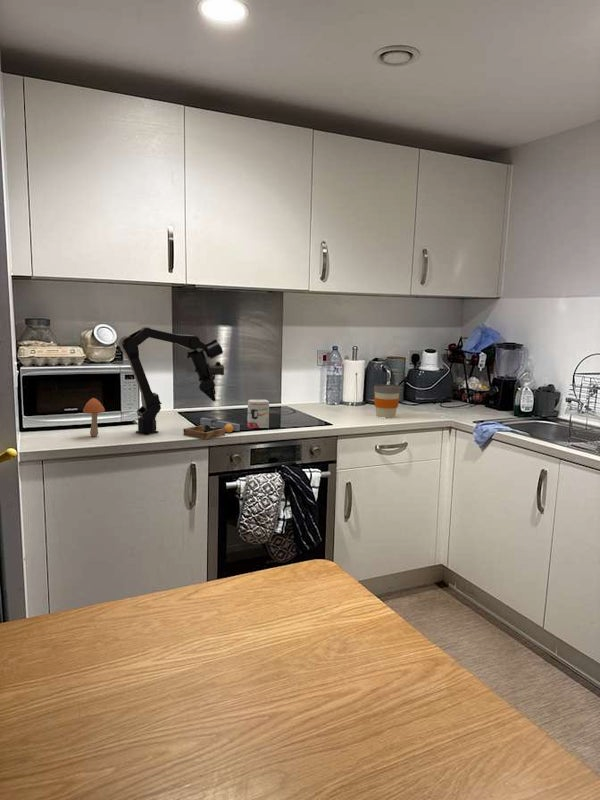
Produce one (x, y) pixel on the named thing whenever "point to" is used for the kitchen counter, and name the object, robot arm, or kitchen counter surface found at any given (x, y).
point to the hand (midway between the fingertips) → (214, 397)
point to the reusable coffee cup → (386, 400)
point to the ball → (228, 428)
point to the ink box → (258, 414)
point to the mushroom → (93, 414)
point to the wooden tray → (199, 433)
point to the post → (213, 425)
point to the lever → (218, 423)
